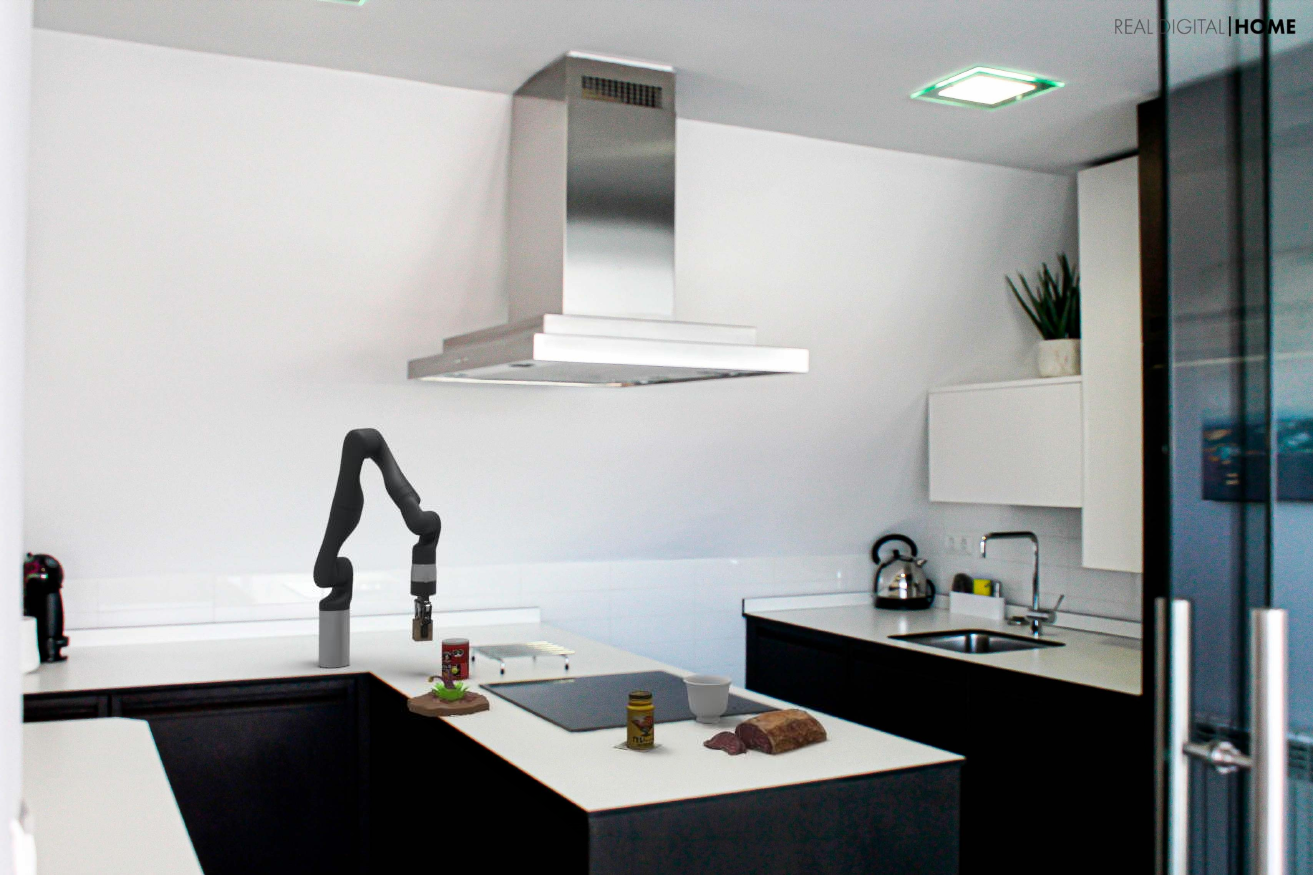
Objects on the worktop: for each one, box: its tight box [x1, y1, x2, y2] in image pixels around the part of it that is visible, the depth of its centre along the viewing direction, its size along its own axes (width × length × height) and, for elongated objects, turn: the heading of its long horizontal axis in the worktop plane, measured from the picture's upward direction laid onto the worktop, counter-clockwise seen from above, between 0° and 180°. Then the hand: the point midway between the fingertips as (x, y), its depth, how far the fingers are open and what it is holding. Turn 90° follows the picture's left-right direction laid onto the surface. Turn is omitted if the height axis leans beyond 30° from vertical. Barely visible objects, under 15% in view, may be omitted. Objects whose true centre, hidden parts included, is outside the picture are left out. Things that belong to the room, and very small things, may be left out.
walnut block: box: [411, 617, 434, 643], centre depth 324 cm, size 5×5×6 cm
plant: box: [406, 666, 490, 718], centre depth 282 cm, size 20×20×11 cm
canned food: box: [441, 637, 470, 681], centre depth 320 cm, size 8×8×11 cm
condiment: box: [613, 690, 662, 753], centre depth 244 cm, size 7×8×12 cm
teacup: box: [683, 673, 733, 724], centre depth 269 cm, size 12×15×10 cm
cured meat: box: [702, 708, 828, 756], centre depth 246 cm, size 18×25×7 cm
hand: (422, 636), depth 324 cm, fingers closed on walnut block, 5 cm apart
